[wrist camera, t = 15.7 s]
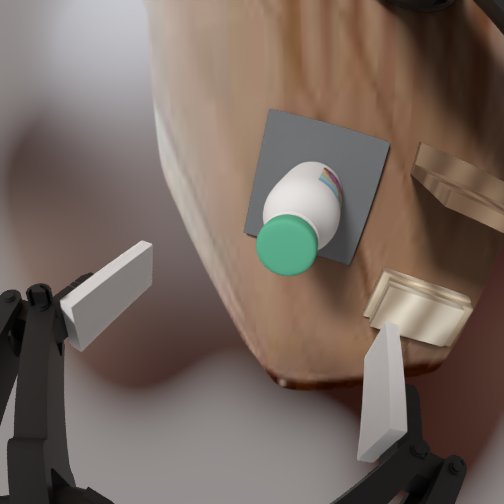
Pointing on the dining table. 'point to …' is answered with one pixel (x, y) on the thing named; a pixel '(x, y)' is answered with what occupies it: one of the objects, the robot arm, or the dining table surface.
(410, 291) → the offcut rack
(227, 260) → the dining table surface
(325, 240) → the milk bottle
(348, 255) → the charcoal mat
